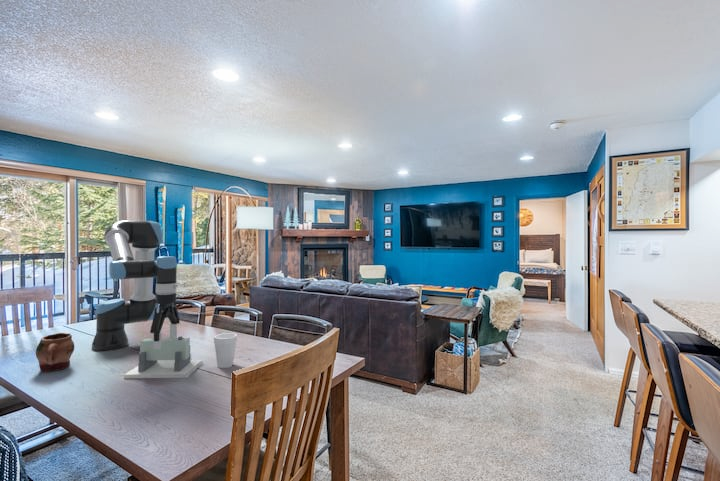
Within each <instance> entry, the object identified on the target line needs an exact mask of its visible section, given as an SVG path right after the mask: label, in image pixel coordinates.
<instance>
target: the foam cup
mask: <svg viewBox="0 0 720 481" xmlns="http://www.w3.org/2000/svg"><path fill="white" fill-rule="evenodd" d="M237 336H238V334H236V333H232V332H225V333H219V334H216V335H214V337H213V343H214V350H215V357H216V364H217V368H220V369H228V368H230V367H232V365H233V366H234V359H235V353H236V345H237V342H238V337H237Z"/></svg>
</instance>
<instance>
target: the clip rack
mask: <svg viewBox="0 0 720 481" xmlns="http://www.w3.org/2000/svg"><path fill="white" fill-rule="evenodd" d="M138 356H139V357H138V363H137V364H138V365H137V366H135V367H133V369H131V370H129V371H127V372H126V373H124V374H123V378H124V379H173V378H174V379H175V378H176V379H178V378H179V379H180V378H181V379H185V378H186V379H187V378H188V377H189V376H190V375H191V374H192V373H194V372H195V371H196V370H197V369H198V368H199V367H200V366H201V365H202V364H203V360H202V359H191V357H192V355H191V353H190V354H189V357H188V358H187V359H186V360H182V352H175V360H148V361H146V352H140V351H139V353H138Z"/></svg>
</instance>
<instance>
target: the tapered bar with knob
mask: <svg viewBox="0 0 720 481" xmlns="http://www.w3.org/2000/svg"><path fill="white" fill-rule="evenodd" d="M190 339H191V338H190V337H183V336H177V338H170V337H164V338H163V337H162V342H161V349H153V348H154V337H152V338H147V337H146V338H143V339H142V340H140V342H139V346H140V347H139V348H140V349H139V353H140V352H146V361H148V360H175V352H182V360H186V359H187V358H188V357H189V354H191V344H190V341H191V340H190Z"/></svg>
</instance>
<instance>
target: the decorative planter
mask: <svg viewBox="0 0 720 481" xmlns="http://www.w3.org/2000/svg"><path fill="white" fill-rule="evenodd" d="M72 338H73V335H72V334H71V333H70V332H69V333H67V332H66V333H65V332H58V333H54V334H48V335H45V336H44V337H42V338H40V340H39V343H38V345H37V347H36V349H35V356H36V359H37V361H38V366H39V370H40V371H41V372H42V373H48V372H56V371H60V370H63V369H66V368H67V367H69V366H70V365H71V360H70V359H71V356H72V355H73V353H74V351H75V342H74V341H73V339H72Z"/></svg>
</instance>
